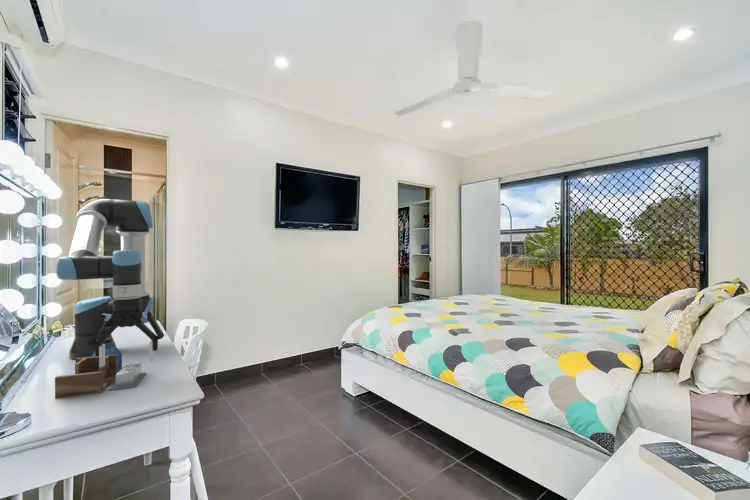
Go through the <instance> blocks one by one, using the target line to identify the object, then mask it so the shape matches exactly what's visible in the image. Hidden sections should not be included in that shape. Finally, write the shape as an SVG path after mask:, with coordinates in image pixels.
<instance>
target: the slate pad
mask: <svg viewBox="0 0 750 500" xmlns="http://www.w3.org/2000/svg"><path fill="white" fill-rule="evenodd" d="M146 375H147V372H142V373H141V375H140V376H139V377H138V378H137V380H136V381H135V382H134V383H133V384H127V385H120V386H116V381H115V382H114V383H113V384H112V385H111V386H110V387H109V388H108V389H107V390H108V391H117V390H127V389H134V388H136V387H138V385H139V384H140V382H141V381H142V379H143V378H144V377H145V376H146Z"/></svg>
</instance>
